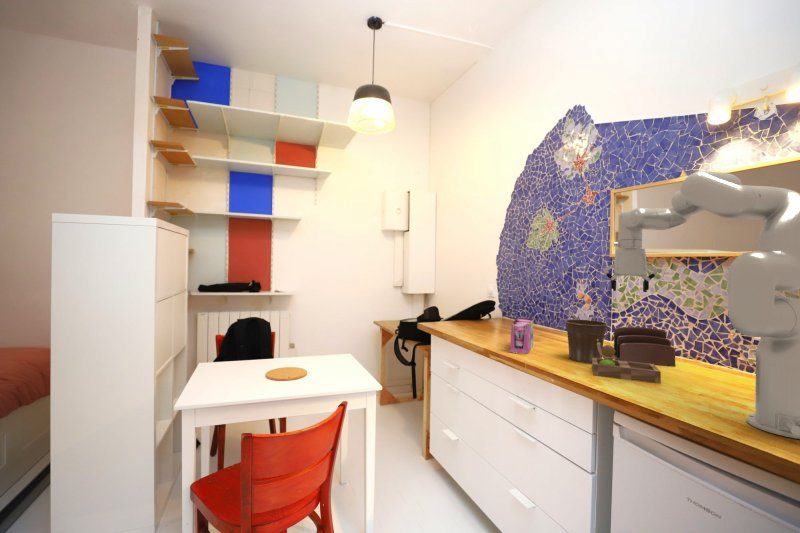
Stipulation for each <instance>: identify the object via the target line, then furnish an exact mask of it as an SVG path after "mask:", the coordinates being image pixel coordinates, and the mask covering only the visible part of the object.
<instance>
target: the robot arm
mask: <svg viewBox="0 0 800 533" xmlns="http://www.w3.org/2000/svg"><path fill="white" fill-rule="evenodd" d="M704 211H707V212H709V213H711V214H713V215H716V216H718V217H721V218H726V219H732V220H733V219H734V220H735V219H736V220H754V221H755V220H757V221H758V220H759V221H765V223H764V224H763V226H762V227H761V229H760V232H759V236H758V244H759V245H758V250H753V251H748V252H747V251H746V252H744V253H742V254H740V255H738V256H737V257H736V258H735V259H733V261H732V262H731V265H730V266H729V270H728V273H727V274H728V276H727V277H728V278H727V312H728V313H727V314H728V318H729V322H730V324H731V325H732V328H733V329H734V330H735V331H737V333H740V334H741V335H744V336H747V337H752V338H759V341H758V343H757V345H756V346H757V347H756V351H755V400H754V401H755V406H754V407H755V412H754V413H751V414H748V415H746V422H747V423H748V424H749V425H751V426H752V427H754V428H756V429H759V430H762V431H763V432H767V433H771V434H774V435H778V436H782V437H784V438H785V437H786V438H792V439H796V440H797V439H798V440H800V299H799V298H795V297H788V296H776V295H775V294H776V292H791V291H792V292H793V291H797V290H800V192H798V191H795V190H793V189H789V188H784V187H783V188H782V187H776V186H768V185H767V186H766V185H765V186H764V185H746V184H745V185H744V184H743V182H742V181H741V179H740V178H739V177H738V176H737V175H734V174H732V173H728V172H719V171H717V172H716V171H707V170H701V171H696V172H693V173H691V174H689V175H688V176H687V177H685V178H684V180H683V181H682V182H681V184H680V188H679V190H677V191H675V193H674V194H672V196H671V206H668V207H665V208H662V207H661V208H660V207H657V208H656V207H637V208H636V207H635V208H634V209H632V210H630V211H629V210H628V211H623V212H620V214H619V215H618V233H617V234H618V239H617V240H618V241H615V242H614V241H613V246H614V247H617V248H616V249H615V253H614V261H613V264H610V265H608V266H605V267H604V268H603V269H602V271H603V272H604V274H605V276H606V277H607V278H609V279H610V289H612V291H613V292H616V291H617V280H616V279H617V278H618V276H634V277H635V276H637V277H638V276H639V277H641V278H642V279H643V281H642V292H644V293H647V292H648V291H649V288H650V286H649V285H650V281H652V279H653V278H655V276H656V274H657V273H658V272H659V269H658V268H656V267H654V266H651V265H649V264H648V263H647V262H648V261H647V254H646V248H643V230H654V231H655V230H656V231H664V230H669V229H673V228H675V227H678V226H681V225H683V224H686V223H687V222H688V221H689V220H690V219H691V218H692V217H693V215H697V214H699V213H701V212H704ZM612 269H613V275H612V274H611V273H610V272H609V270H612ZM648 270H650V271H651V273H650V274H649V275H647V273H648Z"/></svg>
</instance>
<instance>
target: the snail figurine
mask: <svg viewBox="0 0 800 533" xmlns="http://www.w3.org/2000/svg"><path fill="white" fill-rule="evenodd" d="M597 341H598V339H597ZM597 347H598V352H599V354H600V356H602V360H601V361H600V363H599V364H606V365H615V366H616V364H615V363H614V361H613V360H615V357H614V355H615V349H614V346H612V345H610V344H605V345H603V348H602V350H601V343H599V342H598V343H597Z"/></svg>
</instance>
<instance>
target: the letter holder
mask: <svg viewBox="0 0 800 533" xmlns="http://www.w3.org/2000/svg"><path fill="white" fill-rule="evenodd" d="M667 336H668V334H667V332H666V330H662V329H657V328H650V327H641V326H640V327H639V326H625V327H624V326H623V327H621V326H619V327H615V328H614V330H613V348H614V349H615V355H614V356H613V357H615V358H614V360H621V361H630V362H640V363H649V364H654V365H655V366H657V367H658V366H661V367H671V368H675V367H676V348H675V347H674V346H672V345H671V344H672V341H671V339H669V338H667Z"/></svg>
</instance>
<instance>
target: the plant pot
mask: <svg viewBox="0 0 800 533" xmlns="http://www.w3.org/2000/svg"><path fill="white" fill-rule="evenodd" d="M564 323H565V329H566V332H567V342H568V344H567V345H568V356H569V359H571V361H574V362H578V363H584V364H591V363H592V358H602V359H603V357H602V356H600V354H599V352H598V347H597V343H598V342H599V343H601V350H602V348H603V346H604V340H605V334H606V331H607V326H608V323H607V322H604V321H599V320H590V319H579V318H578V319H574V318H572V319H571V318H570V319H565V320H564ZM597 339H598V341H597Z"/></svg>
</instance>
